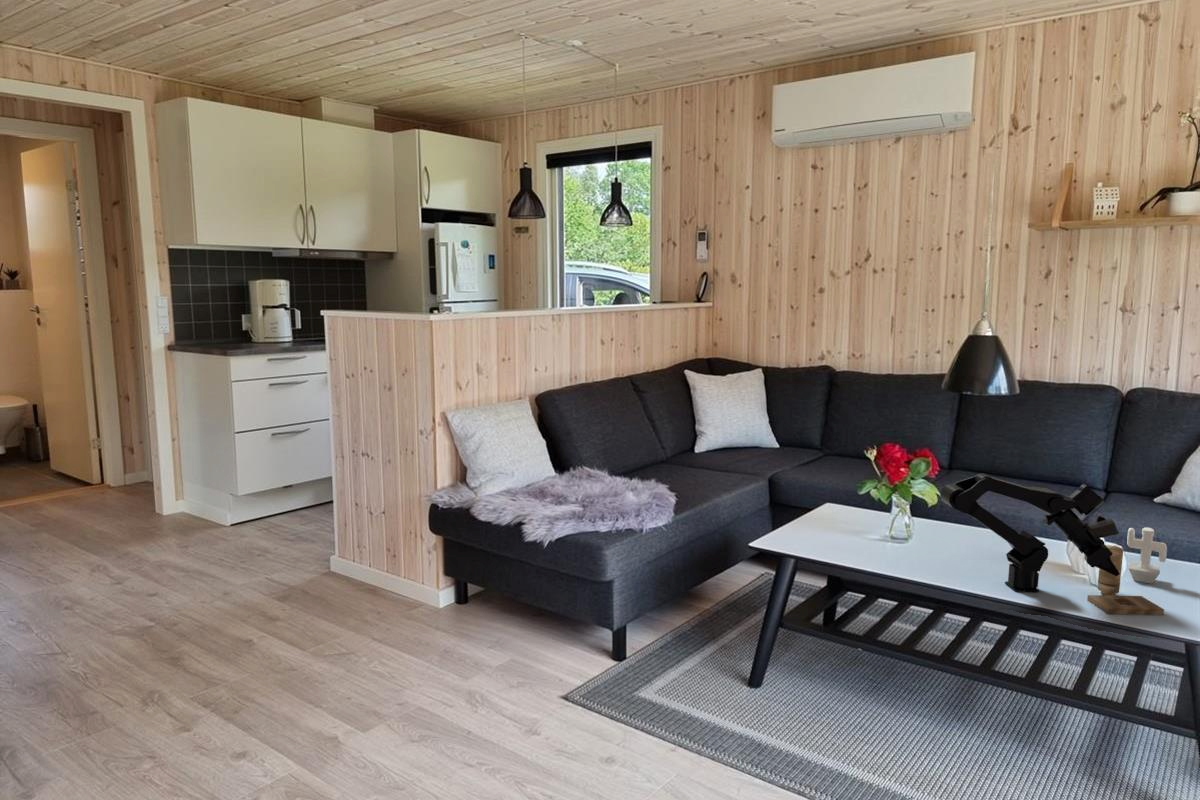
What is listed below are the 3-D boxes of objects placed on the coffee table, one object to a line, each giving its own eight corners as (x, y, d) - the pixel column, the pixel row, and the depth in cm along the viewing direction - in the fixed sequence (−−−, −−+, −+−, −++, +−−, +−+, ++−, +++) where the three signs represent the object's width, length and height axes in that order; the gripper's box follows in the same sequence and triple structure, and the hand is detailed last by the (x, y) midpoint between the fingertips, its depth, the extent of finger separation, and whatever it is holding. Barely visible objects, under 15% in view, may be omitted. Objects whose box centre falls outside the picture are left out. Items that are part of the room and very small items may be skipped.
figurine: (1163, 587, 226) (1168, 534, 224) (1122, 580, 231) (1127, 528, 229) (1163, 579, 231) (1169, 528, 229) (1124, 572, 237) (1129, 522, 235)
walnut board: (1107, 614, 206) (1108, 608, 206) (1087, 600, 215) (1087, 595, 215) (1163, 615, 206) (1164, 609, 206) (1140, 601, 215) (1141, 596, 215)
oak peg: (1103, 598, 217) (1108, 551, 215) (1092, 591, 222) (1097, 545, 220) (1122, 598, 217) (1127, 551, 215) (1111, 591, 222) (1116, 545, 220)
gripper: (1106, 517, 209) (1152, 565, 207) (1092, 500, 226) (1134, 543, 224) (1068, 543, 213) (1113, 590, 211) (1057, 524, 230) (1098, 567, 228)
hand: (1116, 571), depth 218 cm, fingers closed on oak peg, 5 cm apart
